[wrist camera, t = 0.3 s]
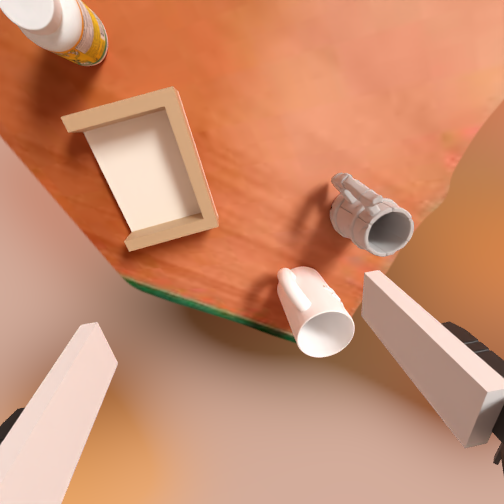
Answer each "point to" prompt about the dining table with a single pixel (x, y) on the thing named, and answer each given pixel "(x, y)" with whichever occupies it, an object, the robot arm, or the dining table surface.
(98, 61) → the supplement bottle
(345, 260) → the dining table surface
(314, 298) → the mug
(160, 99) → the u rest
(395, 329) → the robot arm
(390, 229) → the mug
